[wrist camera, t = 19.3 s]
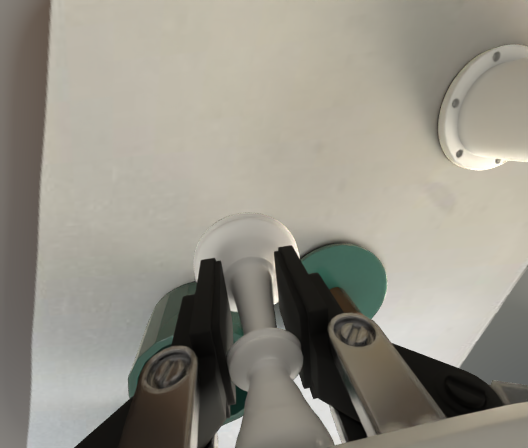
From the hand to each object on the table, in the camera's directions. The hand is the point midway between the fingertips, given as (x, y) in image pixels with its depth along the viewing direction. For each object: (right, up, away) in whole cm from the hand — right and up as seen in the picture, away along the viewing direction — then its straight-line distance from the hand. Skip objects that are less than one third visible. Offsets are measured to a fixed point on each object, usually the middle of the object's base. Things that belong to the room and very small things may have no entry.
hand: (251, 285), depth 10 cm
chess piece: (0, +1, +2) cm, 2 cm away
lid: (+10, -7, +24) cm, 26 cm away
